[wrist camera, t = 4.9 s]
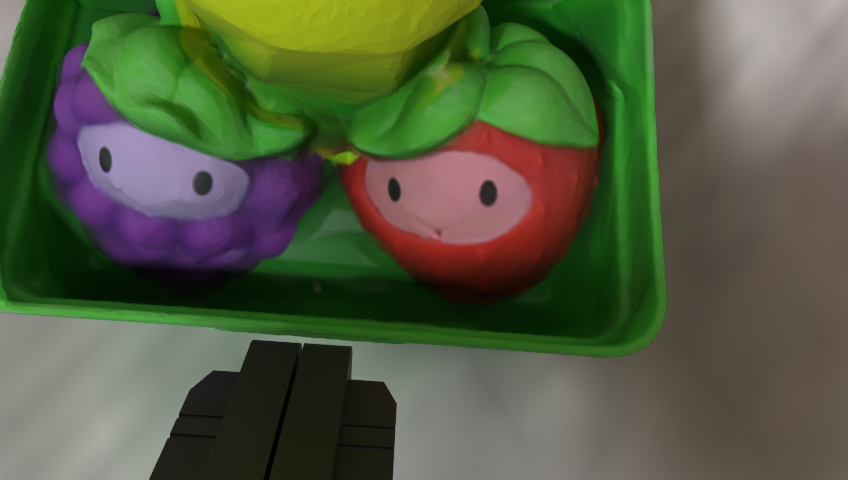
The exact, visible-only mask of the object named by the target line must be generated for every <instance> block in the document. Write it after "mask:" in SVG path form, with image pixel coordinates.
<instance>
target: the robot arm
mask: <svg viewBox="0 0 848 480" xmlns="http://www.w3.org/2000/svg"><path fill="white" fill-rule="evenodd" d="M351 371H352V347H351V346H336V345H322V344H308V343H305V344H304V346H303V349H302V345H301V343H291V342H276V341H262V340H252V342H251V344H250V346H249V349H248V352H247V354H246V357H245V360H244V362H243V365H242V368H241V370H240V372H228V371H214V370H213V371H212V372H211V373H210V374H209V375H207V376H206V377H205V378H204V379H202V380H201V381H200V382H199V383H198V384H196V385H195V386H194V387H193V388H192V389H190V391H189V393H188V395H187V397H186V400H185V402H184V404H183V406H182V408H181V411H180V413H179V418H177V419H176V422H175V424H174V426H173V428H172V430H171V433H170V438H168V439H167V441H166V443H165V446H164V448H163V450H162V452H161V454H160V457H159V459H158V461H157V463H156V465H155V468H154V470H153V472H152V474H151V476H150V479H149V480H393V463H394V444H395V425H396V406H397V403H396V402H395V400H394V398H393V397H392V395H391V393H390V392H389V390H388V388H387V387H386V385H385V383H384V382H378V381H363V380H351Z"/></svg>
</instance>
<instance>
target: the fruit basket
mask: <svg viewBox="0 0 848 480" xmlns="http://www.w3.org/2000/svg"><path fill="white" fill-rule="evenodd" d="M666 309H667V292H666V278H665V265H664V253H663V236H662V221H661V206H660V182H659V167H658V157H657V127H656V113H655V75H654V42H653V10H652V5H651V0H26V2H25V6H24V8H23V10H22V12H21V17H20V19H19V22H18V25H17V27H16V30H15V33H14V36H13V39H12V45H11V48H10V51H9V54H8V57H7V59H6V64H5V67H4V70H3V74H2V77H1V80H0V312H3V313H13V314H24V315H38V316H53V317H68V318H82V319H97V320H112V321H126V322H141V323H155V324H169V325H183V326H198V327H212V328H216V329H219V330H225V331H233V332H248V333H259V334H270V335H291V336H300V337H310V338H325V339H339V340H347V341H369V342H375V343H392V344H403V343H420V344H433V345H445V346H458V347H471V348H484V349H497V350H510V351H524V352H537V353H550V354H563V355H579V356H591V357H621V356H625V355H629V354H633V353H636V352H638V351H640V350H642V349H644V348H645V347H646V346H648V345H649V344H650V343H651V342H652V341H653V340H654V339H655V337H656V336H657V334H658V333H659V331H660V329H661V327H662V325H663V322H664V319H665V314H666Z"/></svg>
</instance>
